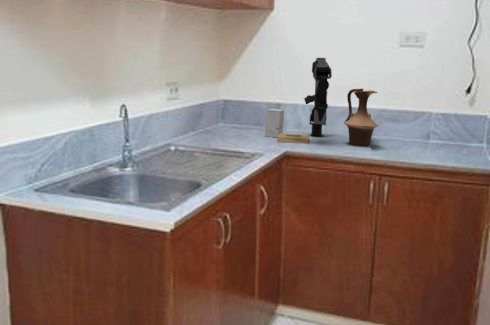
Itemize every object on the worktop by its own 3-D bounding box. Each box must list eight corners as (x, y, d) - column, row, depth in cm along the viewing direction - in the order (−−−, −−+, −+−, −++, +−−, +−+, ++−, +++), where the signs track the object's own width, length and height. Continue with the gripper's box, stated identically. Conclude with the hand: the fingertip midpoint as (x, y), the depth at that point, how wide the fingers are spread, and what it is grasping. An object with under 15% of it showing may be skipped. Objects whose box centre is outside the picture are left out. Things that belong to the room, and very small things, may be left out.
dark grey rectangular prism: (313, 123, 260) (314, 109, 259) (325, 123, 259) (326, 109, 258) (313, 123, 256) (314, 110, 255) (325, 124, 255) (326, 110, 254)
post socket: (278, 138, 269) (279, 133, 269) (308, 139, 267) (309, 134, 267) (277, 141, 255) (277, 137, 255) (308, 143, 253) (308, 138, 253)
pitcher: (336, 144, 252) (340, 88, 247) (348, 140, 266) (351, 87, 261) (371, 147, 243) (375, 89, 238) (381, 144, 258) (385, 89, 253)
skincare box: (264, 136, 274) (265, 109, 271) (269, 135, 279) (270, 108, 276) (278, 137, 270) (280, 110, 267) (283, 136, 275) (284, 109, 272)
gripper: (305, 88, 264) (304, 118, 267) (305, 90, 246) (304, 122, 249) (326, 89, 263) (325, 118, 266) (328, 91, 245) (326, 123, 248)
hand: (319, 120), depth 257 cm, fingers closed on dark grey rectangular prism, 4 cm apart
